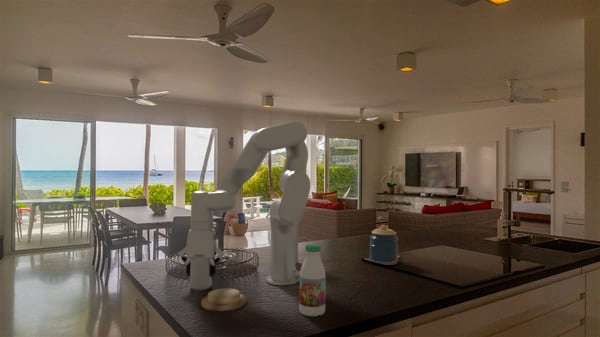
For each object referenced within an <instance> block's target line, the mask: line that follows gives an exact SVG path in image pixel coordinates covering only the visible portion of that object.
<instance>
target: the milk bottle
mask: <svg viewBox="0 0 600 337" xmlns="http://www.w3.org/2000/svg"><path fill="white" fill-rule="evenodd" d="M304 246H305V251H304V253H305V258H304V261H303V262H302V265H301V267H300V270H299V271H300V277H299V301H298V302H299V303H298V304H299V305H298V306H299V308H298V310H299V313H300V314H302V315H304V316H306V317H318V316H319V315H320V316H323V315H324V314H325V312H326V289H327V288H326V270H325V266H324V263H323V261H322V258H321V250H322V246H321V244H318V243H307V244H305V245H304ZM320 316H319V317H320Z"/></svg>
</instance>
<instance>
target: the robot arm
mask: <svg viewBox="0 0 600 337" xmlns="http://www.w3.org/2000/svg"><path fill="white" fill-rule="evenodd" d="M307 137H308V130H307V127H306V125H305V124H303V122H300V121H296V120H295V121H291V122H287V123H282V124H277V125H273V126H269V127H263V128H260V129H257V130H256V131H255V132H254V133H253V134H252V135H251V136H250V138H249V139H248V141H247V142H246V144H245V145H244V147H243V149H242V150H241V152H240V153H239V155H238V156H237V157H236V160H235V161H234V162H233V164H232V165H231V167H230V169H229V170H228V172H227V173H226V174H225V176H224V177H223V179H222V180H221V181H220V182H219V185H218V186H217V188H216V189H215V191H213V192H212V191H210V190H209V191H208V190H195V191H193V192H192V193H191V194H190V195H191V196H190V229H189V230H188V233H187V237H186V238H187V239H186V243H185V244H186V246H185V247H184V248H183V249H181V250H180V251H178V253H177V255H178V256H179V257H180V259H181V260H182V261H183V262H184V264H185V266H186V267H185V268H186V274H187V277H190V259H191V258H193V256H206V257H205V258H208V259H209V260H210V262H211V266H210V277H214V275H216V270H217V264H218V262H220V261H221V259H222V258H223V257H224V256H225V252H224V251H222V250H221V249H220V248H219V247H218V245H217V244H218V242H217V234H216V229H215V228H216V227H217V222H214V220H213V219H214V216H213V215H214V212H220V213H227V212H230V211H232V210H233V209H234V207H235V206H236V201H237V200H236V198H235V197H236V195H237V194H238V193H239V191H240V190H241V188H242V187H243V185H244V184H245V183H246V182H247V181H248V180H250V179H251V178H252V177H254V175H255V174H256V173H257V171H258V170H259V168H260V166H261V164H262V163H263V161H264V159H265V158H266V157H267V155H268V153H269V152H272V151H278V150H281V149H285V154H286V155H285V160H284V164H283V169H282V171H281V175H280V178H279V182H278V183H279V189H280V191H281V192H282V195H281V197H278V198H276V199H274V201H272V202H271V205H270V207H269V221H270V222H269V224H270V225H269V226H270V247H269V248H270V251H269V252H270V255H269V256H270V257H269V258H270V262H269V267H270V268H269V274H268V275H267V276H266V277H265V281H266V282H267V283H268V284H270V285H274V286H290V285H295V284H297V283H299V282H300V271H301V270H299V269H297V267H296V264H295V240H296V231H295V225H296V224H297V223H298V224H300V221H302V218H303V216H304V214H305V210H306V206H307V202H308V200H309V196H310V191H311V180H310V177H309V175H308V174H307V173H306V170H307V165H308V160H309V149H308V147H307V144H306V142H305V140H306V139H307ZM214 227H215V228H214ZM217 255H218V256H217ZM215 256H217V257H215Z"/></svg>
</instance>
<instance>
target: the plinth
mask: <svg viewBox="0 0 600 337" xmlns="http://www.w3.org/2000/svg"><path fill="white" fill-rule="evenodd" d="M246 304H247V297H246V296H245V295H244V294H241V291H240V290H239V289H237V288H236V289H235V288H227V287H226V288H225V287H224V288H217V289H213V290H211V291H209V292H208V293H207V295H205V296H204V297H203V298H202V299H201V301H200V306H201V308H203V309H205V310H207V311H211V312H229V311H235V310H238V309H240V308H242V307H244V306H246Z"/></svg>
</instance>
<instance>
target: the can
mask: <svg viewBox="0 0 600 337" xmlns="http://www.w3.org/2000/svg"><path fill="white" fill-rule="evenodd" d="M205 257H206V256H193V258H191V259H190V276H189V287H190V288H191V289H192V290H194V291H205V290H208V289H209V288H210V287H211V286H212V285H213V284H212V279H213V278H212V277H210V266H211V262H210V260H209V259H208V258H205Z"/></svg>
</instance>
